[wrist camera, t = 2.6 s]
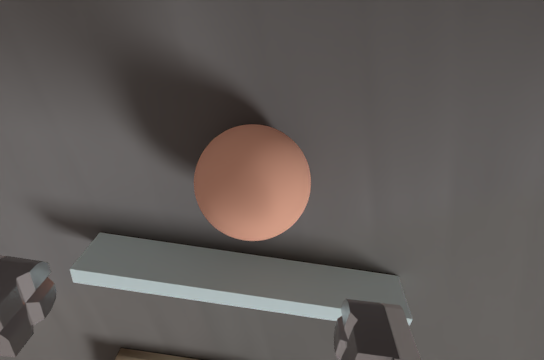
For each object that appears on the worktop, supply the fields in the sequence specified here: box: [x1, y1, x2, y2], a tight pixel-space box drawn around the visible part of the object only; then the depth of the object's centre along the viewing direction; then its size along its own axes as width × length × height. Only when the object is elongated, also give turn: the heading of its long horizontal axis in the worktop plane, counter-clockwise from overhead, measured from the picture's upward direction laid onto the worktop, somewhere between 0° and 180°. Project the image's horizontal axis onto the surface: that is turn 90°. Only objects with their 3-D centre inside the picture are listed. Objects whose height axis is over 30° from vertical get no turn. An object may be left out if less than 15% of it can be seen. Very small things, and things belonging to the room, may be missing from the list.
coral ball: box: [194, 124, 311, 241], centre depth 15 cm, size 5×5×5 cm
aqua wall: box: [70, 233, 413, 326], centre depth 19 cm, size 18×1×3 cm, turn 83°
